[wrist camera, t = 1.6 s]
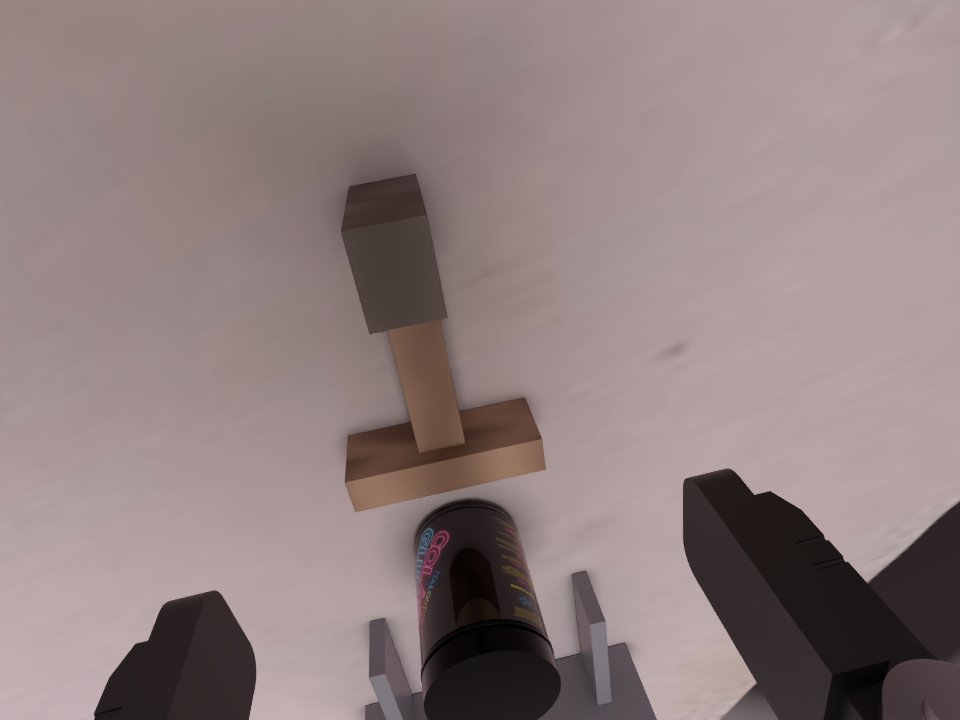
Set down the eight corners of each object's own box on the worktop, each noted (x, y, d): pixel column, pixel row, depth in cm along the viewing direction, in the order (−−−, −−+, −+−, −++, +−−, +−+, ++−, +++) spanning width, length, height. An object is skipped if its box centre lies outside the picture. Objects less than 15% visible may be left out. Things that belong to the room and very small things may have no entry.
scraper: (357, 463, 33) (353, 557, 27) (271, 201, 26) (238, 251, 20) (528, 425, 34) (561, 509, 28) (491, 159, 27) (525, 195, 21)
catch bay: (369, 715, 44) (368, 804, 39) (333, 630, 39) (325, 720, 34) (625, 652, 45) (657, 731, 40) (620, 562, 41) (656, 639, 35)
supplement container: (450, 481, 35) (475, 635, 26) (538, 519, 38) (589, 671, 28) (391, 556, 37) (396, 722, 28) (479, 587, 40) (509, 749, 31)
